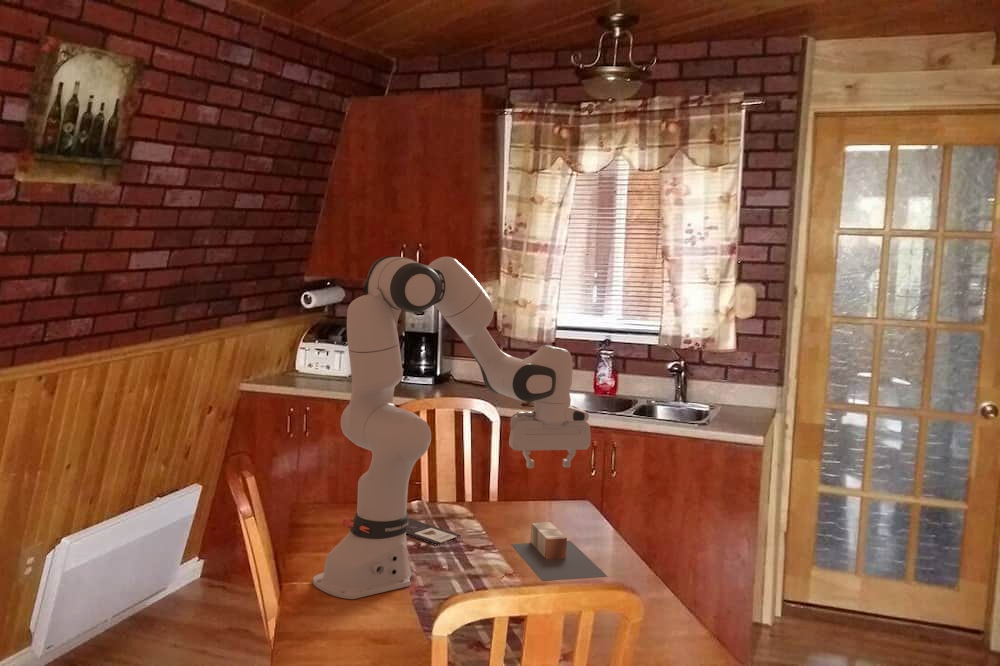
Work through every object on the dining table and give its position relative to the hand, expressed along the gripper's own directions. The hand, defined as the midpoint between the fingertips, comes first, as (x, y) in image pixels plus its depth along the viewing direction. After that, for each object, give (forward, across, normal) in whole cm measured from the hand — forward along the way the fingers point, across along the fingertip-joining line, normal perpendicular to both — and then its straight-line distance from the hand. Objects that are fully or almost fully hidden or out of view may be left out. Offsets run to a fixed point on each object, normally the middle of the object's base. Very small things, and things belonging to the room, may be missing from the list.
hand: (548, 467), depth 224 cm
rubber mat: (+21, +1, -7) cm, 23 cm away
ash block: (+18, +1, +5) cm, 19 cm away
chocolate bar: (+22, -27, +18) cm, 39 cm away
